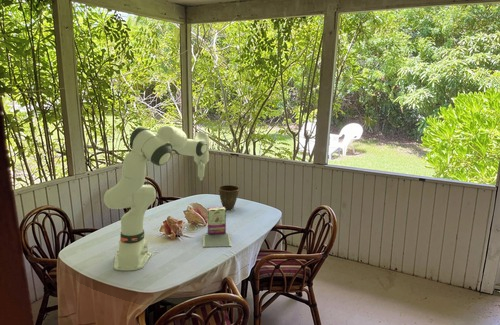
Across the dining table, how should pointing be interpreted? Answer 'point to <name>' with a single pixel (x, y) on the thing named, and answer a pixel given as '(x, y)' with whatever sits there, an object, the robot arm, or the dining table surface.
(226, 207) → the plant pot
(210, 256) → the dining table surface
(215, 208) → the candy bar box
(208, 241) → the mat
